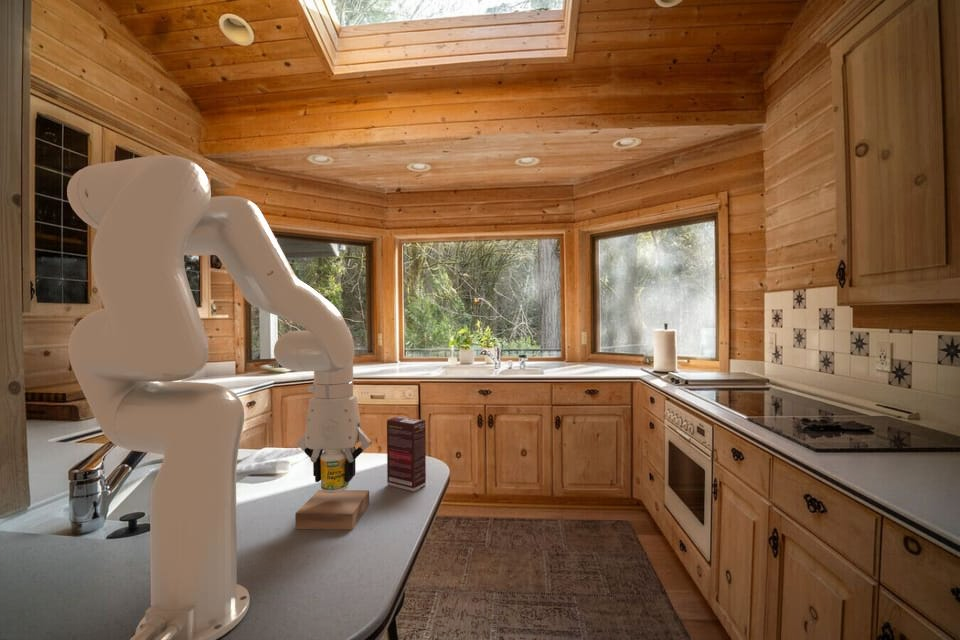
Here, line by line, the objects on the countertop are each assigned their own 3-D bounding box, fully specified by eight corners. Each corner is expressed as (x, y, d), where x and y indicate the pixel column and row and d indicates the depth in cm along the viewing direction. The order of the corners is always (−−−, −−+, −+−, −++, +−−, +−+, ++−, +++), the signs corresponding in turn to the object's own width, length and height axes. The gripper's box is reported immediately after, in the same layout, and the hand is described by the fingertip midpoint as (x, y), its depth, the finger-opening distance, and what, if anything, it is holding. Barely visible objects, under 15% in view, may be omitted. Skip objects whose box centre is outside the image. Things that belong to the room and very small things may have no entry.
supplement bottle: (344, 481, 90) (344, 436, 90) (352, 489, 86) (351, 442, 86) (318, 487, 87) (317, 440, 87) (324, 496, 83) (323, 447, 83)
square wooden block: (352, 529, 81) (352, 513, 81) (295, 529, 81) (295, 513, 81) (369, 504, 92) (369, 490, 92) (318, 503, 92) (318, 489, 92)
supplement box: (426, 485, 102) (426, 419, 102) (414, 492, 98) (413, 423, 98) (399, 478, 106) (399, 415, 106) (386, 485, 102) (385, 419, 102)
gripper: (283, 394, 83) (284, 486, 83) (370, 394, 82) (371, 487, 82) (300, 387, 90) (301, 472, 90) (380, 387, 90) (381, 473, 90)
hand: (334, 478), depth 86 cm, fingers closed on supplement bottle, 5 cm apart
